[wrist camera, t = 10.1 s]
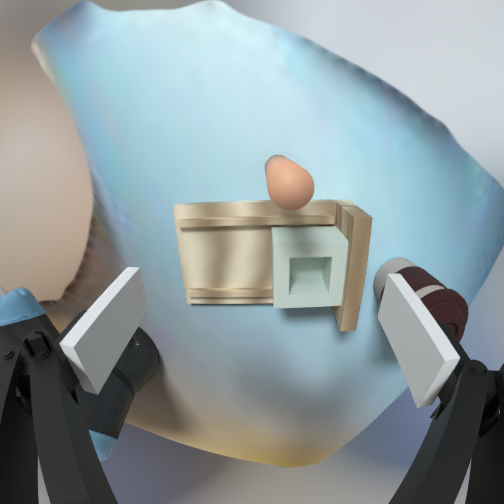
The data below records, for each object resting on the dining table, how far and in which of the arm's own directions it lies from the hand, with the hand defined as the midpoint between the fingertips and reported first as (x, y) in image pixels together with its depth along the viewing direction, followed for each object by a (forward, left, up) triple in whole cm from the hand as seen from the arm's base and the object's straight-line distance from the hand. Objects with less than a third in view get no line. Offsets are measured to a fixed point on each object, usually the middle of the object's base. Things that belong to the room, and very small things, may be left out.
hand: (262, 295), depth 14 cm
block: (+5, -7, -20) cm, 22 cm away
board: (0, -7, -22) cm, 23 cm away
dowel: (+2, +4, -22) cm, 22 cm away
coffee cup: (+20, -11, -22) cm, 32 cm away
